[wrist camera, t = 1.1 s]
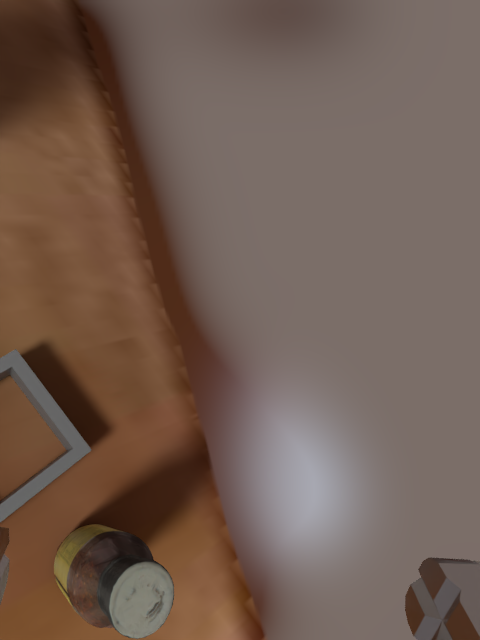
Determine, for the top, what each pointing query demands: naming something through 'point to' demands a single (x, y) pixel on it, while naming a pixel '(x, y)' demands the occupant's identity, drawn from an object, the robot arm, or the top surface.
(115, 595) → the sauce bottle
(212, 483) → the top surface
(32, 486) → the bottle collar
